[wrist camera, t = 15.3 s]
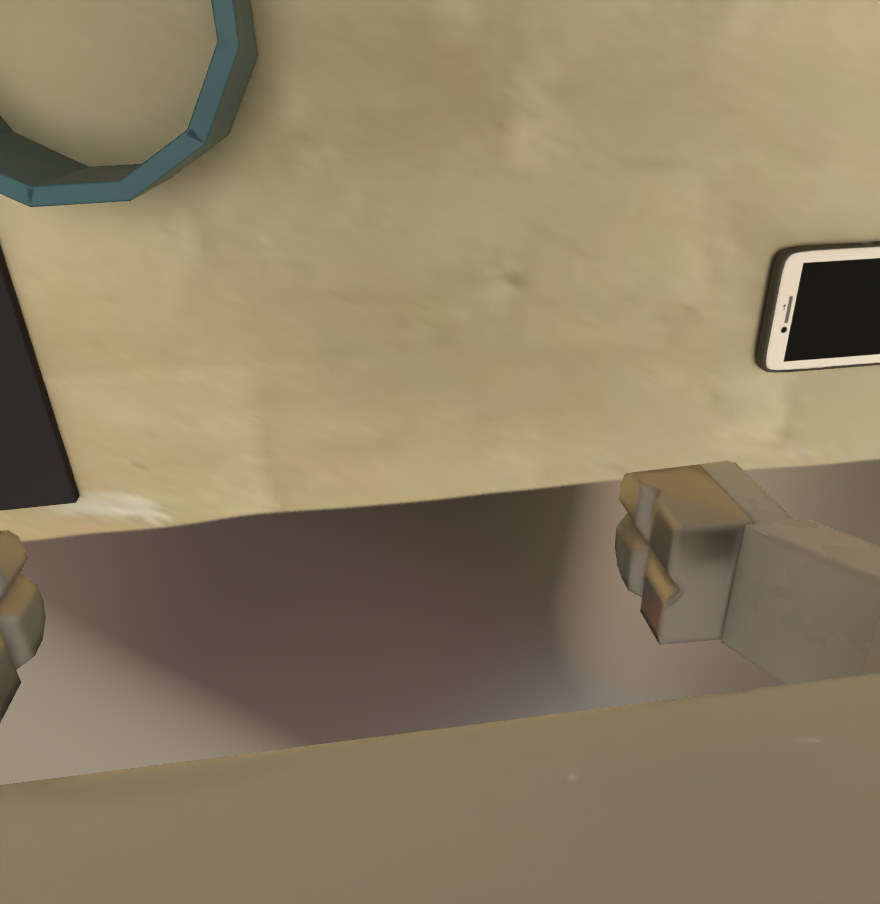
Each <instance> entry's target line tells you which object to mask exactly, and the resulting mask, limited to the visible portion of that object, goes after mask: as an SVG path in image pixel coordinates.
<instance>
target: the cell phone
mask: <svg viewBox="0 0 880 904" xmlns="http://www.w3.org/2000/svg"><path fill="white" fill-rule="evenodd" d="M757 364H758V366H759V367H760V368H761V369H763V370H765V371H767V372H796V371H808V370H821V369H834V368H846V367H859V366H871V365H880V242H875V243H874V244H872V245H863V244H860V243H853V244H837V245H820V246H803V247H795V248H789V249H785V250H783V251H781V252H780V253H779V254H778V256H777V257H776V259H775V262H774V265H773V269H772V274H771V279H770V284H769V290H768V295H767V301H766V306H765V312H764V317H763V323H762V328H761V334H760V339H759V345H758V350H757ZM830 366H832V367H830ZM817 367H823V368H817ZM804 368H810V369H804Z"/></svg>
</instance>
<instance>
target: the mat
mask: <svg viewBox="0 0 880 904" xmlns="http://www.w3.org/2000/svg"><path fill="white" fill-rule="evenodd" d="M78 498H79V493H78V490H77V486H76V483H75V480H74V477H73V474H72V471H71V468H70V464H69V461H68V458H67V455H66V452H65V449H64V446H63V442H62V439H61V436H60V433H59V430H58V427H57V423H56V420H55V417H54V414H53V411H52V408H51V405H50V401H49V398H48V395H47V392H46V389H45V386H44V383H43V379H42V376H41V373H40V370H39V367H38V364H37V360H36V357H35V354H34V351H33V348H32V345H31V342H30V338H29V335H28V332H27V329H26V326H25V323H24V320H23V316H22V313H21V310H20V307H19V304H18V301H17V297H16V294H15V291H14V288H13V285H12V282H11V279H10V275H9V272H8V269H7V266H6V263H5V260H4V256H3V253H2V250H1V247H0V510H10V509H20V508H29V507H39V506H49V505H58V504H68V503H76V501H77V500H78Z"/></svg>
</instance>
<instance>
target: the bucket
mask: <svg viewBox="0 0 880 904" xmlns="http://www.w3.org/2000/svg"><path fill="white" fill-rule="evenodd" d="M211 1H212V8H213V14H214V20H215V26H216V32H217V39H218V42H217V45H216V48H215V51H214V54H213V57H212V60H211V63H210V66H209V69H208V71H207V74H206V77H205V80H204V83H203V86H202V89H201V92H200V95H199V98H198V100H197V103H196V106H195V109H194V112H193V115H192V118H191V121H190V124H189V127H188V129H187V130H186V131H185V132H184V133H182V134H181V135H180V136H178V137H177V138H176V139H175V140H173V141H172V142H171V143H169V144H168V145H167V146H165V147H164V148H163V149H161V150H160V151H159V152H157V153H156V154H155V155H153V156H152V157H151V158H149V159H148V160H147V161H145V162H144V163H143V164H134V165H117V166H99V167H87V166H85V165H83V164H81V163H79V162H76V161H74V160H72V159H70V158H68V157H66V156H64V155H61V154H59V153H57V152H55V151H53V150H51V149H49V148H46V147H44V146H42V145H40V144H38V143H36V142H34V141H31V140H29V139H27V138H25V137H23V136H21V135H19V134H17V133H14V132H13V131H12V130H11V128H10V127H9V126H8V125H7V124H6V123H5V121H4V120H3V119H2V118H1V117H0V194H2V195H4V196H7V197H9V198H11V199H14V200H16V201H18V202H20V203H23V204H25V205H27V206H29V207H39V206H55V205H71V204H87V203H103V202H119V201H131V200H133V199H134V198H136V197H138V196H140V195H141V194H143V193H145V192H147V191H149V190H150V189H152V188H154V187H156V186H157V185H159V184H161V183H163V182H165V181H166V180H168V179H169V178H171V177H172V176H173V175H175V174H176V173H178V172H179V171H180V170H182V169H183V168H184V167H186V166H187V165H188V164H190V163H191V162H192V161H194V160H195V159H196V158H198V157H199V156H200V155H202V154H203V153H204V152H206V151H207V150H208V149H210V148H211V147H212V146H214V145H215V144H216V143H218V142H219V141H220V140H222V139H223V138H224V137H226V136H227V135H228V134H229V133H230V130H231V127H232V125H233V122H234V119H235V116H236V114H237V111H238V108H239V105H240V103H241V100H242V97H243V95H244V92H245V89H246V86H247V84H248V81H249V78H250V75H251V73H252V70H253V67H254V65H255V62H256V59H257V56H258V53H257V46H256V38H255V31H254V24H253V17H252V10H251V3H250V0H211Z"/></svg>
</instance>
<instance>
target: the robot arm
mask: <svg viewBox="0 0 880 904" xmlns="http://www.w3.org/2000/svg"><path fill="white" fill-rule="evenodd" d="M619 500H620V502H621V503H622V505H623V506H624V508H625V509H626V511H627V514H626V515H625V517H624V518H623V519H622V520H621V521H620V523H619V524H618V525H617V526H616V540H615V550H616V558H617V565H618V568H619V571H620V574H621V577H622V579H623V581H624V583H625V585H626V587H627V589H628V590H629V591H631V592H633V593H634V594H636V595H638V596H640V597H641V598H642V602H641V603H642V604H641V611H640V612H641V613H642V615H643V617H644V619H645V620H646V622H647V624H648V625H649V627H650V629H651V631H652V632H653V634H654V636H655V638H656V639H657V641H658V643H659V645H665V644H676V643H687V642H697V641H707V640H708V641H709V640H719V639H722V641H721V642H722V643H723V644H725V645H726V646H728V647H729V648H731V649H732V650H733V651H735V652H736V653H738V654H739V655H741V656H742V657H744V658H745V659H747V660H748V661H750V662H751V663H752V664H754V665H756V666H757V667H758V668H760V669H761V670H763V671H764V672H766V673H767V674H768V675H770V676H771V677H773V678H774V679H776V680H777V681H779V682H780V683H782V684H783V685H780V686H772V687H764V688H756V689H749V690H741V691H733V692H725V693H717V694H709V695H702V696H694V697H686V698H679V699H670V700H663V701H655V702H647V703H639V704H632V705H624V706H616V707H608V708H601V709H593V710H585V711H577V712H570V713H561V714H554V715H546V716H538V717H531V718H522V719H515V720H507V721H499V722H491V723H484V724H475V725H467V726H460V727H452V728H445V729H437V730H428V731H421V732H413V733H406V734H397V735H390V736H382V737H374V738H366V739H359V740H350V741H343V742H335V743H327V744H319V745H311V746H303V747H296V748H288V749H280V750H272V751H264V752H256V753H249V754H241V755H233V756H225V757H217V758H209V759H201V760H194V761H186V762H178V763H170V764H162V765H154V766H146V767H139V768H131V769H123V770H115V771H107V772H99V773H92V774H84V775H77V776H68V777H61V778H52V779H45V780H37V781H30V782H22V783H13V784H5V785H0V904H880V546H878V545H875V544H872V543H870V542H867V541H864V540H862V539H859V538H856V537H854V536H851V535H848V534H845V533H843V532H840V531H837V530H835V529H832V528H829V527H826V526H824V525H821V524H818V523H816V522H813V521H810V520H808V519H798V520H794V519H793V518H792V517H791V516H790V515H789V514H788V513H787V512H786V511H785V510H784V509H783V508H782V507H781V506H780V505H779V504H778V503H777V502H776V501H775V500H774V499H773V498H771V497H770V496H769V495H768V494H767V493H766V492H765V491H764V490H763V489H762V488H761V487H760V486H759V485H758V484H757V483H756V482H755V481H754V480H753V479H752V478H751V477H750V476H749V475H748V474H747V473H746V472H745V471H743V470H742V469H741V468H740V467H739V466H738V465H737V464H736V463H734V462H730V461H720V462H713V463H706V464H698V465H690V466H682V467H673V468H665V469H657V470H648V471H640V472H632V473H626V474H625V475H624V477H623V480H622V483H621V489H620V497H619ZM26 560H27V555H26V553H25V551H24V548H23V546H22V544H21V541H20V539H19V537H18V536H17V535H15V534H13V533H12V532H10V531H9V530H7V531H0V722H1V720H2V718H3V716H4V714H5V712H6V711H7V709H8V706H9V705H10V703H11V701H12V699H13V697H14V695H15V693H16V691H17V689H18V687H19V686H20V684H21V681H20V679H19V676H18V674H17V671H16V670H17V669H18V668H19V667H21V666H22V665H23V664H25V663H26V662H27V661H29V660H30V659H31V658H33V657H34V656H35V654H36V652H37V650H38V648H39V646H40V644H41V642H42V639H43V633H44V625H45V619H46V618H45V610H44V603H43V598H42V596H41V593H40V590H39V587H38V585H37V584H35V583H34V582H32V581H31V580H30V579H28V578H27V577H26V576H24V575H23V574H21V573H20V572H21V570H22V568H23V566H24V564H25V562H26Z"/></svg>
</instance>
